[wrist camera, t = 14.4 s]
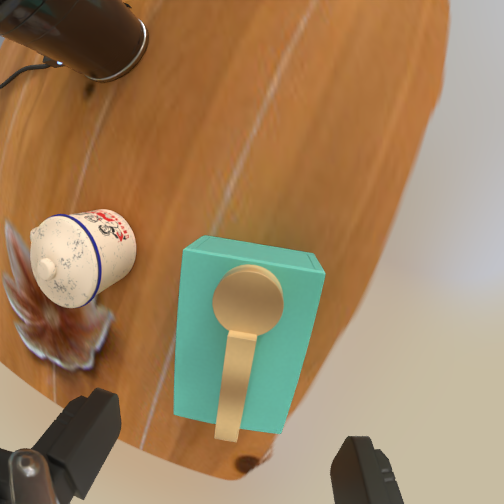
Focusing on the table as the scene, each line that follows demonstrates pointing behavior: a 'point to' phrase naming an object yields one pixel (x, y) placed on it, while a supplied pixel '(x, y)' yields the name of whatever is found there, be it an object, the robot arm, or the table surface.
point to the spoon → (242, 335)
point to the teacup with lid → (81, 255)
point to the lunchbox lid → (215, 338)
